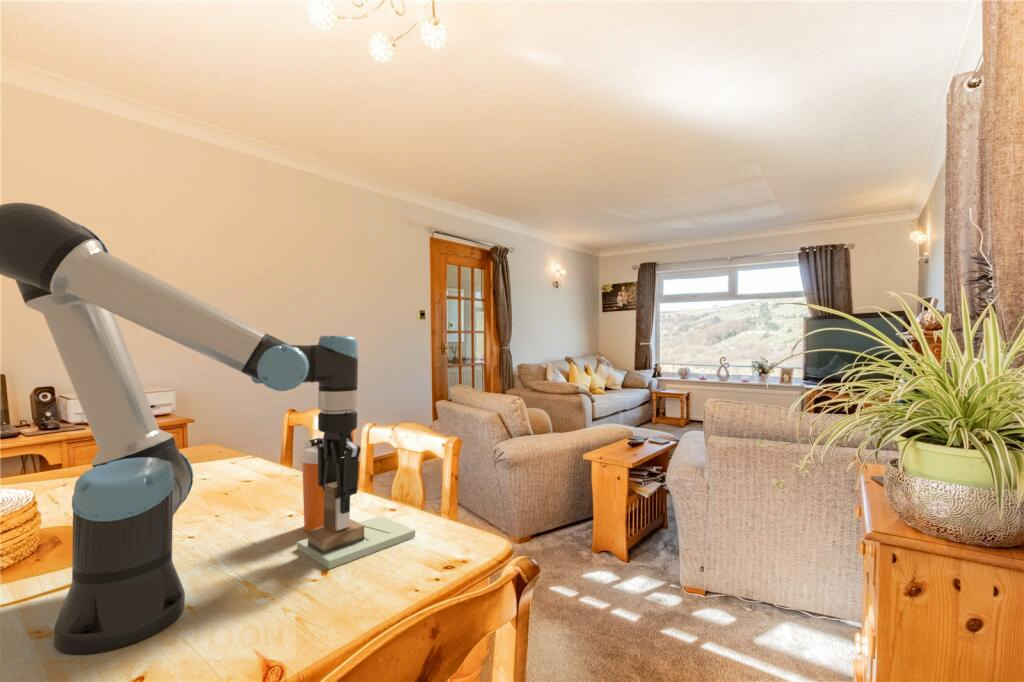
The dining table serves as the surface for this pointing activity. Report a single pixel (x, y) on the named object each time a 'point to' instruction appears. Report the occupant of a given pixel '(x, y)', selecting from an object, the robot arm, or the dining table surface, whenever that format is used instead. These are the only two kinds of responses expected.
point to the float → (333, 527)
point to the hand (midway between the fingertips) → (336, 525)
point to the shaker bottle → (312, 487)
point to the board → (362, 542)
